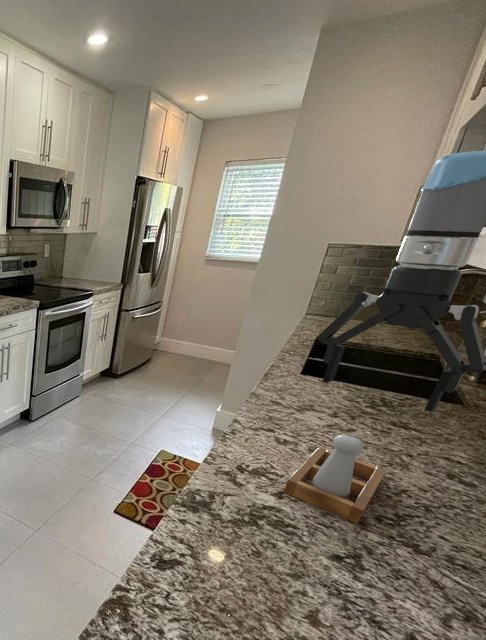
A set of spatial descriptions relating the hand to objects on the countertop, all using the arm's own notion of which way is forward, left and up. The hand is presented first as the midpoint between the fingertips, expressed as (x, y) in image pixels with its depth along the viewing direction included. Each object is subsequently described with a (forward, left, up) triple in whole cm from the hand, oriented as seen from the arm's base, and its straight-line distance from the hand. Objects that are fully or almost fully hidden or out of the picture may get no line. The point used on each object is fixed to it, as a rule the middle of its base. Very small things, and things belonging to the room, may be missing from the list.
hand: (374, 394), depth 70 cm
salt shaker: (+1, -3, -23) cm, 24 cm away
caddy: (+1, -8, -23) cm, 25 cm away
